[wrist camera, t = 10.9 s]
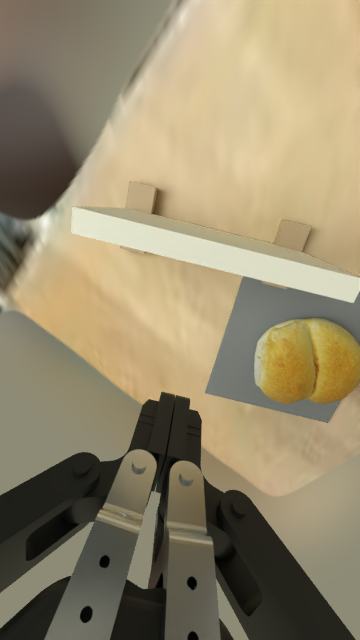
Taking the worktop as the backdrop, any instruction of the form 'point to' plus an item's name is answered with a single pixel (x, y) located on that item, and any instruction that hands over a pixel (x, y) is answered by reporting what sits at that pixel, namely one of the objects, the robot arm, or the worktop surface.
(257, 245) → the screen
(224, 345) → the mat
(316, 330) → the bread roll
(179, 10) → the worktop surface
